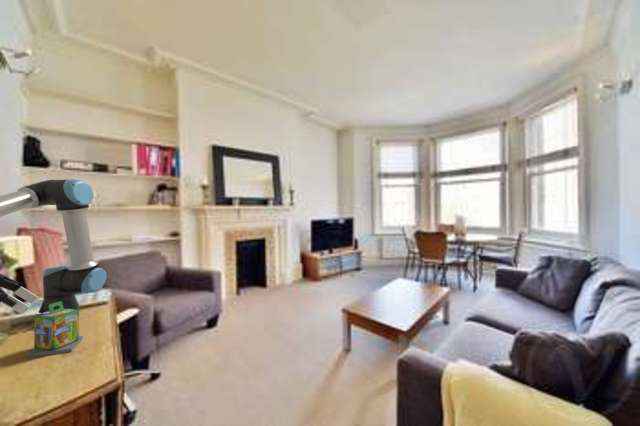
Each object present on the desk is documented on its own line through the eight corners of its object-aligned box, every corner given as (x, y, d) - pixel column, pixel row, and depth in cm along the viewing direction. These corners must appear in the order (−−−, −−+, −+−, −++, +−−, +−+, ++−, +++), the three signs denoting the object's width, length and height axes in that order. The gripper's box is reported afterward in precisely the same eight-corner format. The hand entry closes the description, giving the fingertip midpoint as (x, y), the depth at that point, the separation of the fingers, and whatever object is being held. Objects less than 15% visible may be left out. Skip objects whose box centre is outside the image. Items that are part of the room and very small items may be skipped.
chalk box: (53, 351, 102) (53, 307, 102) (32, 348, 104) (32, 306, 104) (80, 340, 111) (80, 300, 111) (60, 337, 113) (61, 298, 113)
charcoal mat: (42, 344, 111) (42, 340, 111) (82, 338, 116) (82, 335, 116) (26, 358, 100) (26, 354, 100) (71, 351, 105) (71, 348, 105)
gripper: (-31, 269, 104) (28, 304, 112) (-67, 282, 83) (8, 325, 92) (-9, 252, 107) (47, 288, 115) (-39, 262, 86) (32, 305, 95)
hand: (30, 305), depth 104 cm, fingers open, 13 cm apart
